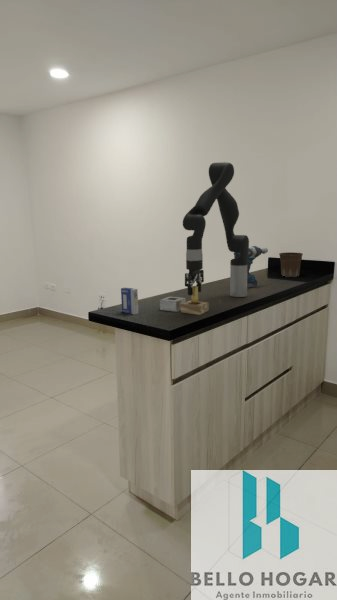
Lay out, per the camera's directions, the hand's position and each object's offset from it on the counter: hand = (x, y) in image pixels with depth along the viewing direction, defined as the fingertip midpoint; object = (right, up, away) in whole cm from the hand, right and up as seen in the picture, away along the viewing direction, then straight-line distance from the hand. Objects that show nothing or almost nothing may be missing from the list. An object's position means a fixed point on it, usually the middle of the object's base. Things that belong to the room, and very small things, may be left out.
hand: (194, 293), depth 192 cm
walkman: (-30, -9, +2) cm, 32 cm away
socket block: (-10, -7, +8) cm, 15 cm away
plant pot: (+74, +14, +101) cm, 126 cm away
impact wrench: (+38, +5, +62) cm, 74 cm away
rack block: (0, -8, +2) cm, 9 cm away
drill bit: (0, -8, +2) cm, 9 cm away
